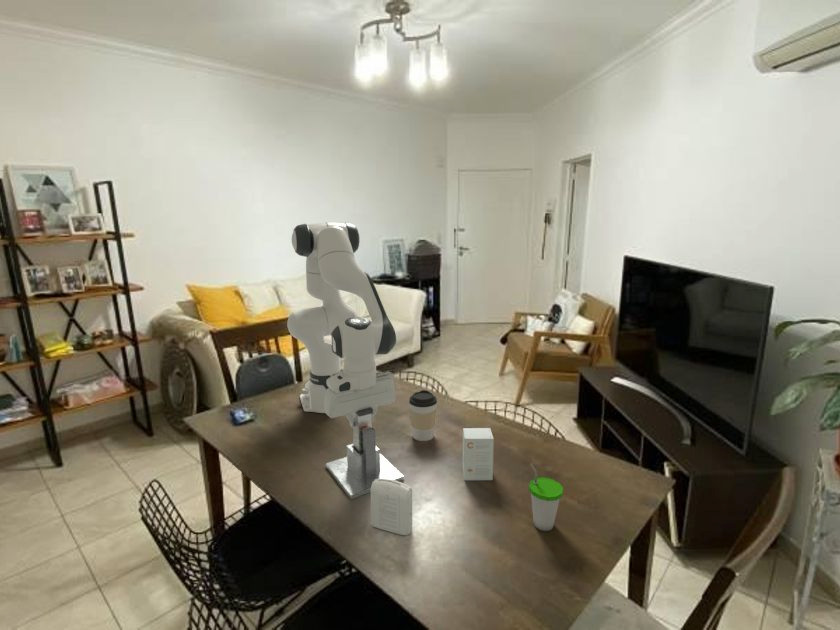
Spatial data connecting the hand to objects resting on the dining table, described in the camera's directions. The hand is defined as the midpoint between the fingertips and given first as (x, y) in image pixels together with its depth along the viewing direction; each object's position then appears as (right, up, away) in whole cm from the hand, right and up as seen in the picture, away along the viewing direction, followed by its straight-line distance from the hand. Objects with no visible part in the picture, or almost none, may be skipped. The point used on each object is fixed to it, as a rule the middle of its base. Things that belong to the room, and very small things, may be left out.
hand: (361, 423), depth 126 cm
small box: (+33, -15, +3) cm, 36 cm away
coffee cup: (+17, -10, +25) cm, 32 cm away
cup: (+46, -20, -18) cm, 53 cm away
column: (0, -14, +3) cm, 14 cm away
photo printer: (+10, -21, -18) cm, 29 cm away
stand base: (0, -15, +4) cm, 16 cm away
